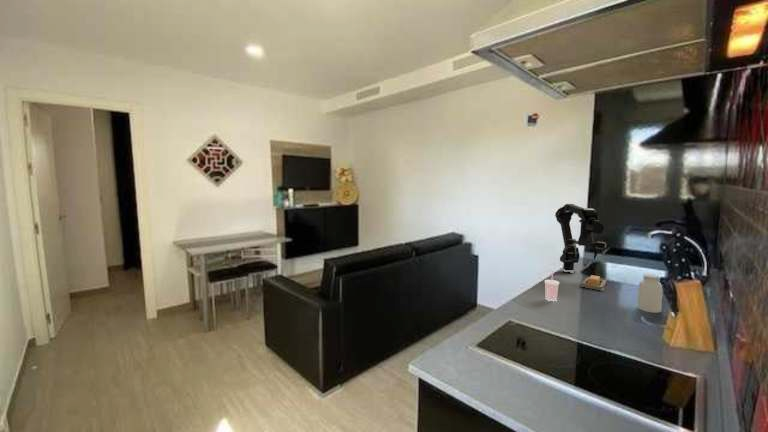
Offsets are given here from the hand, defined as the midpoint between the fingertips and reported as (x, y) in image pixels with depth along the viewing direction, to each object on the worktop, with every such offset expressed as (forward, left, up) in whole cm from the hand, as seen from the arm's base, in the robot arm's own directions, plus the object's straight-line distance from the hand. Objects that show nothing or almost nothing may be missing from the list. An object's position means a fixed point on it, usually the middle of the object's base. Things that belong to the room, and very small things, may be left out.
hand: (584, 258), depth 184 cm
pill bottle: (+33, +30, -12) cm, 46 cm away
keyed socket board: (+10, +6, -12) cm, 17 cm away
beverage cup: (+48, -5, -12) cm, 50 cm away
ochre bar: (+10, +6, -11) cm, 16 cm away
